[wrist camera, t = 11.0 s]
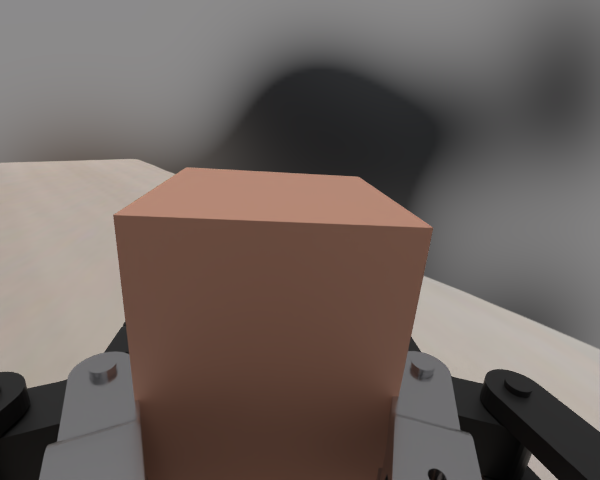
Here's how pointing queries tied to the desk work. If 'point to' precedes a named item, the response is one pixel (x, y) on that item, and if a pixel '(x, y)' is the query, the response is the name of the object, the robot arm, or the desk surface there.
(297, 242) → the column
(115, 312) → the desk surface
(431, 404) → the robot arm
